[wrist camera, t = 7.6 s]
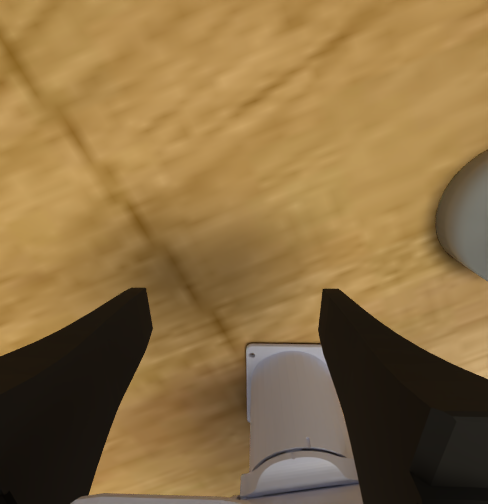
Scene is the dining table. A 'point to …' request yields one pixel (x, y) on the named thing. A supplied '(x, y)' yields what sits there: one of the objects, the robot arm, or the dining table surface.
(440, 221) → the grey disc
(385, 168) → the dining table surface
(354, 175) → the dining table surface
